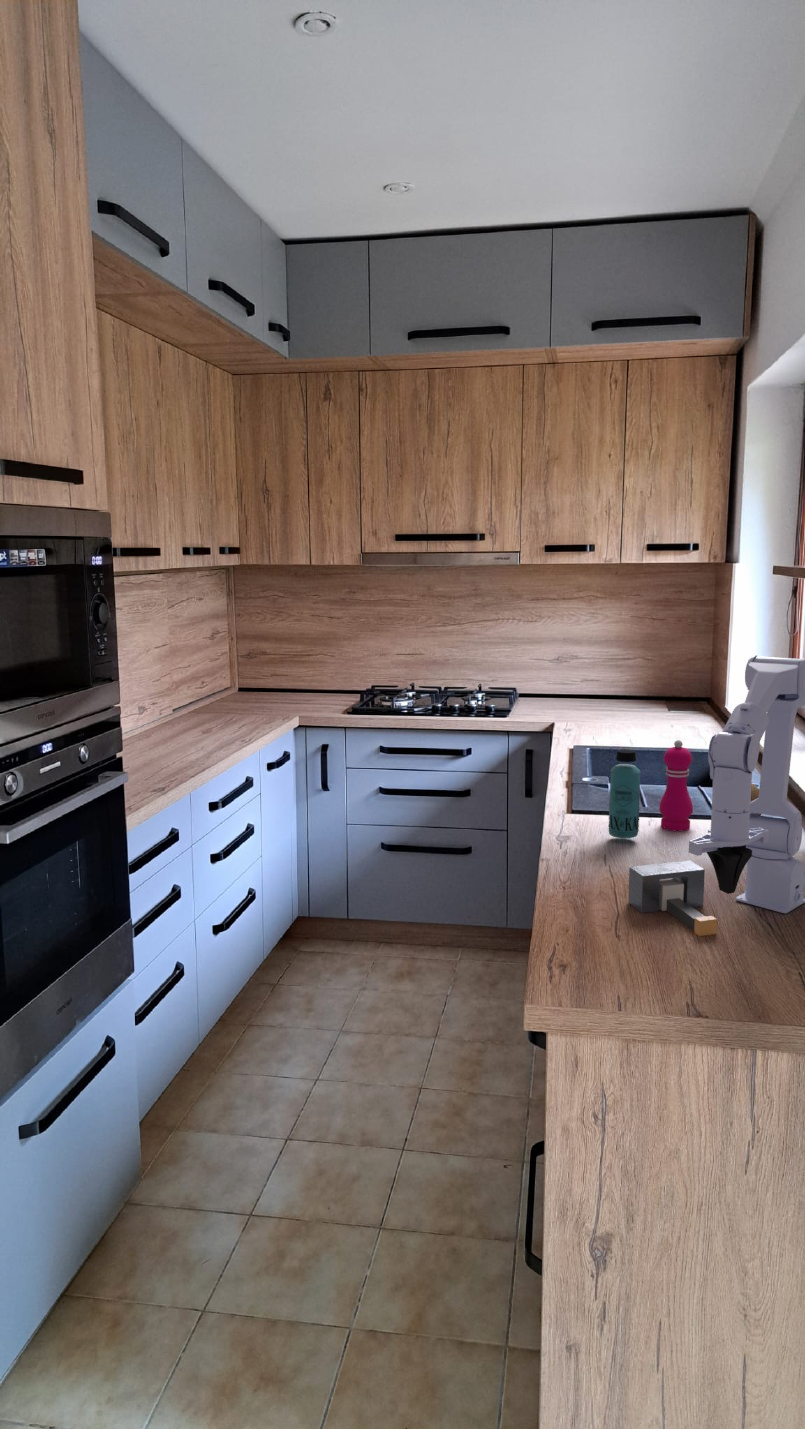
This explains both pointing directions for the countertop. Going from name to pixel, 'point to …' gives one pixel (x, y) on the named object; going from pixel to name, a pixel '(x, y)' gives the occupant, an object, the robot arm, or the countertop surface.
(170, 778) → the countertop surface
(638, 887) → the housing
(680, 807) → the pepper mill
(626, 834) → the beverage bottle
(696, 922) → the plug
